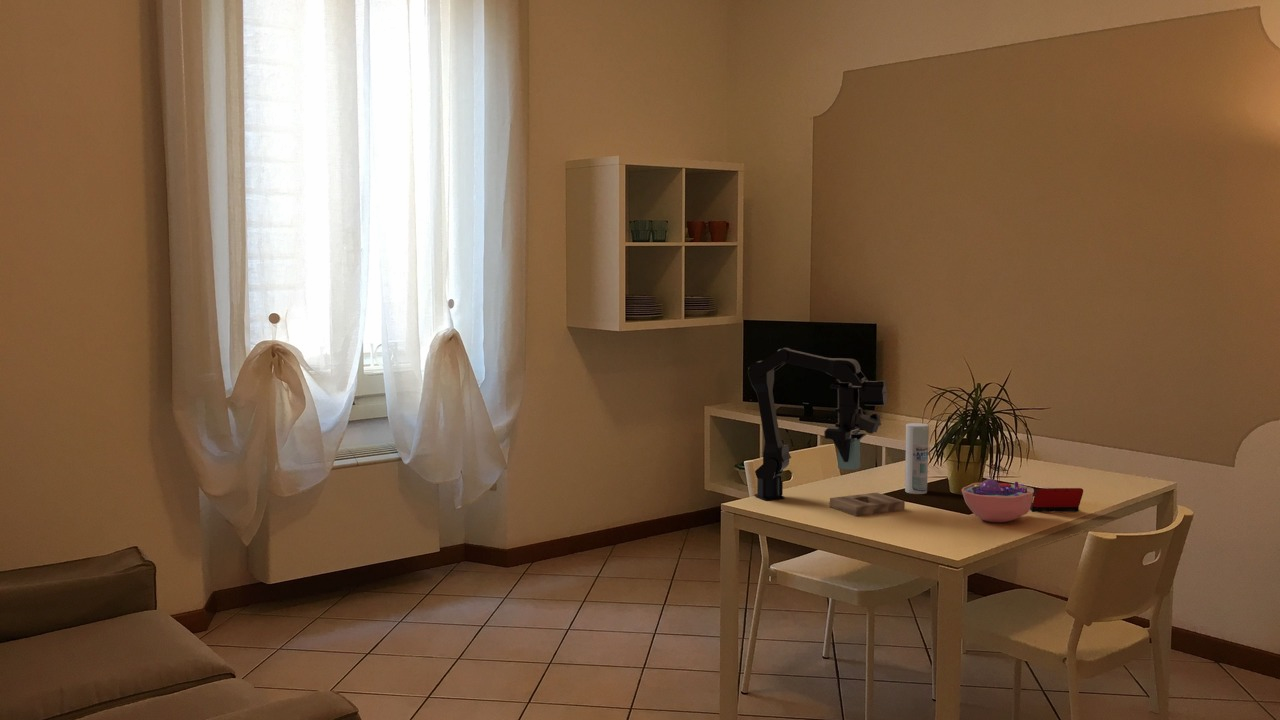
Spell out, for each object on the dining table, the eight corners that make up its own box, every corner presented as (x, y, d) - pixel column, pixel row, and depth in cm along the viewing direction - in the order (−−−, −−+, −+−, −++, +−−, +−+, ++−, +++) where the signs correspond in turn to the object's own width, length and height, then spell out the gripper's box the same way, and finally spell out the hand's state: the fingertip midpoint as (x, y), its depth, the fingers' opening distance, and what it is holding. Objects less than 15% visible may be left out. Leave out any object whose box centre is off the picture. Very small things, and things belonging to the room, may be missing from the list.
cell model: (1050, 522, 262) (1052, 479, 261) (997, 532, 252) (998, 487, 251) (998, 509, 276) (999, 468, 275) (945, 518, 266) (946, 475, 265)
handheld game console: (1068, 506, 280) (1069, 479, 279) (1083, 515, 269) (1084, 488, 269) (1022, 506, 281) (1023, 479, 280) (1035, 515, 270) (1036, 488, 269)
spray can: (917, 488, 302) (918, 422, 300) (932, 492, 296) (933, 425, 295) (900, 490, 299) (901, 423, 298) (914, 495, 294) (916, 426, 292)
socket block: (856, 516, 269) (856, 507, 268) (829, 506, 279) (829, 497, 279) (904, 510, 275) (904, 501, 275) (876, 501, 286) (877, 492, 286)
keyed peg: (838, 468, 280) (837, 438, 279) (843, 466, 283) (843, 436, 282) (854, 469, 277) (854, 439, 276) (860, 467, 280) (859, 437, 279)
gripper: (861, 410, 266) (862, 468, 268) (889, 402, 281) (890, 457, 283) (823, 408, 273) (823, 465, 274) (852, 400, 288) (853, 454, 289)
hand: (849, 460), depth 280 cm, fingers closed on keyed peg, 4 cm apart
